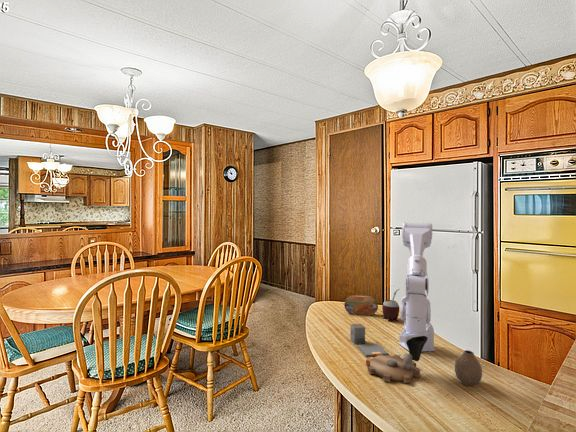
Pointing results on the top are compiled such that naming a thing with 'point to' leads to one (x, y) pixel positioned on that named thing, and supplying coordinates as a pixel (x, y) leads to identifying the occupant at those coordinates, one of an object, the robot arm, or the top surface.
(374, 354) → the mat
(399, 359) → the sprocket wheel
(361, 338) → the link block
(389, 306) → the mate gourd
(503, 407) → the top surface
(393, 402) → the top surface
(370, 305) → the tin
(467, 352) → the vase
